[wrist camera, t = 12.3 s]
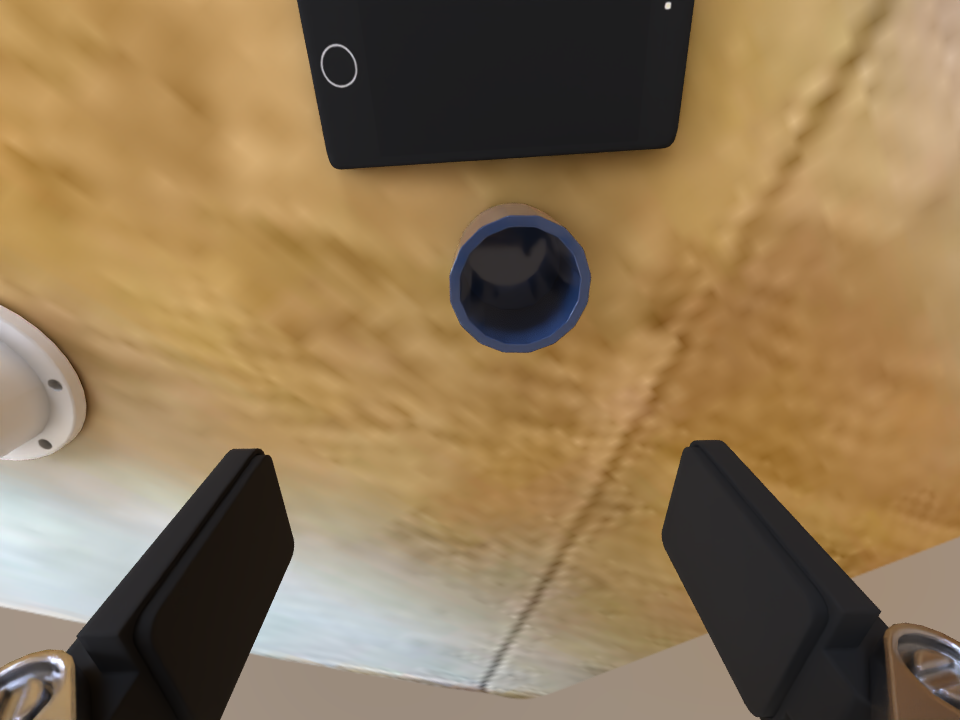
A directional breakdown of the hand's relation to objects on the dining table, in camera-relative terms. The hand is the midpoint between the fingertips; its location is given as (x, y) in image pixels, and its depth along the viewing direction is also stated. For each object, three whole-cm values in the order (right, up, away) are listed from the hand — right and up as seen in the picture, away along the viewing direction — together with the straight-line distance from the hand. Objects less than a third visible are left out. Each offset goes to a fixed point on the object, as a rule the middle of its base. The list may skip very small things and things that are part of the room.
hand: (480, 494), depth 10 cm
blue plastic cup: (+2, +9, +15) cm, 18 cm away
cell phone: (+1, +18, +11) cm, 21 cm away
